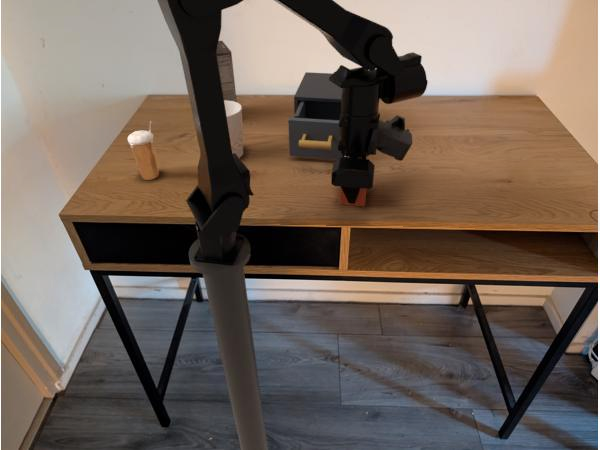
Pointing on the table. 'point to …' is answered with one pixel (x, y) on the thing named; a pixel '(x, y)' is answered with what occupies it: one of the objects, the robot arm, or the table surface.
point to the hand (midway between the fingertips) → (353, 193)
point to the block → (359, 201)
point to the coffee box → (226, 72)
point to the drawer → (315, 130)
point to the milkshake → (144, 153)
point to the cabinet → (317, 89)
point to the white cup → (235, 126)
